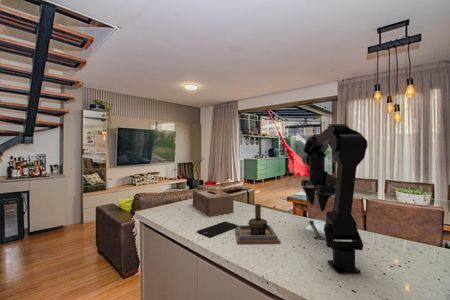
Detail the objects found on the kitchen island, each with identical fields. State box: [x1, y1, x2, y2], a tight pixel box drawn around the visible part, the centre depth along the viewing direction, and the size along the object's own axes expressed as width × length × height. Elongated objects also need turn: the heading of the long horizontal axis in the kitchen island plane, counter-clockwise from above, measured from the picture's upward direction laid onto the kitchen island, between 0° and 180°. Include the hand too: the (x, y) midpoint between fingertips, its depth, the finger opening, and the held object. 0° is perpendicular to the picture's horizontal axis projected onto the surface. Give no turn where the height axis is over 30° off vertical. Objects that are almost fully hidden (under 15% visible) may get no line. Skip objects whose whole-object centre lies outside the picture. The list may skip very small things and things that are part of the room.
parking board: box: [234, 228, 282, 245], centre depth 89 cm, size 14×16×1 cm
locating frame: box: [236, 224, 278, 240], centre depth 89 cm, size 12×14×2 cm
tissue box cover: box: [192, 187, 234, 218], centre depth 129 cm, size 26×14×10 cm, turn 28°
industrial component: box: [247, 203, 269, 235], centre depth 89 cm, size 9×7×12 cm
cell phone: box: [196, 220, 238, 239], centre depth 97 cm, size 9×18×1 cm, turn 136°
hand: (316, 207), depth 87 cm, fingers open, 9 cm apart
